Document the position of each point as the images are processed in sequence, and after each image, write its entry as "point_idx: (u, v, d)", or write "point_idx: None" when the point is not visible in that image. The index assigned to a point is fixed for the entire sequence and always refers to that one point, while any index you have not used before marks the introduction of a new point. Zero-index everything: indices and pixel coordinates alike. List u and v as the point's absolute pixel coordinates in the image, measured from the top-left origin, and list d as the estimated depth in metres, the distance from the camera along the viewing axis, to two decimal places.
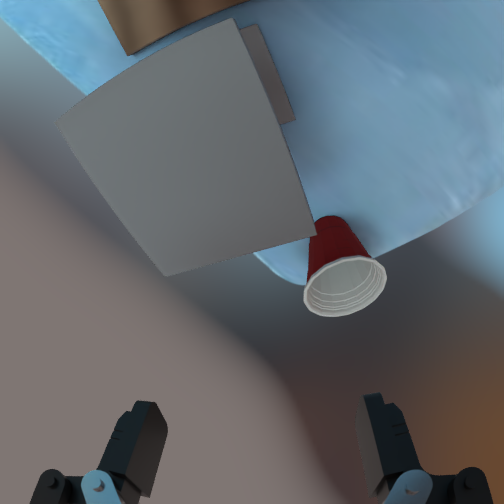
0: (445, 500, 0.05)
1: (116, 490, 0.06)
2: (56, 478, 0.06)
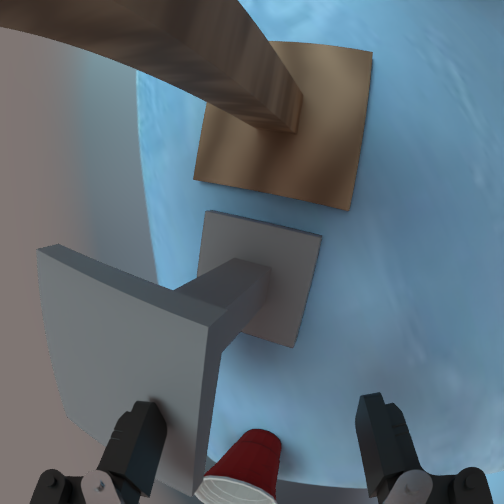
0: (445, 500, 0.05)
1: (116, 490, 0.06)
2: (56, 478, 0.06)
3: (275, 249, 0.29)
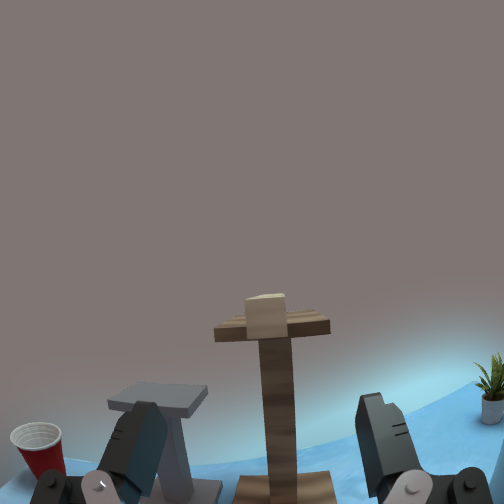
0: (445, 500, 0.05)
1: (116, 490, 0.06)
2: (56, 478, 0.06)
3: None
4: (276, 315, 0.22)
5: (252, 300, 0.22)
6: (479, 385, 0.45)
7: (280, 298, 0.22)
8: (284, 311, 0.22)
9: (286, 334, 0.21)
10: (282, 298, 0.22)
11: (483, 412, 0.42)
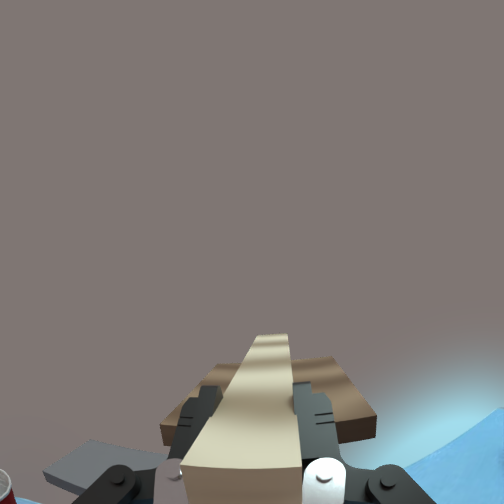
0: (362, 495, 0.06)
1: None
2: (124, 474, 0.07)
3: None
4: None
5: (203, 470, 0.06)
6: None
7: (287, 471, 0.06)
8: (297, 497, 0.05)
9: None
10: (294, 471, 0.06)
11: None
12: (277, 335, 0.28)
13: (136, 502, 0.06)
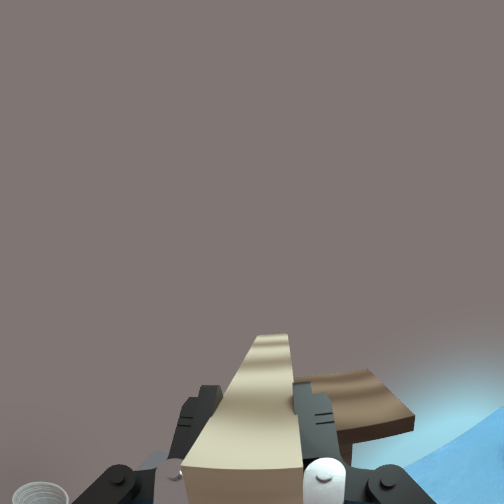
0: (362, 495, 0.06)
1: None
2: (124, 474, 0.07)
3: None
4: None
5: (203, 471, 0.06)
6: None
7: (288, 472, 0.06)
8: (298, 498, 0.05)
9: None
10: (295, 472, 0.06)
11: None
12: (277, 335, 0.28)
13: (136, 502, 0.06)
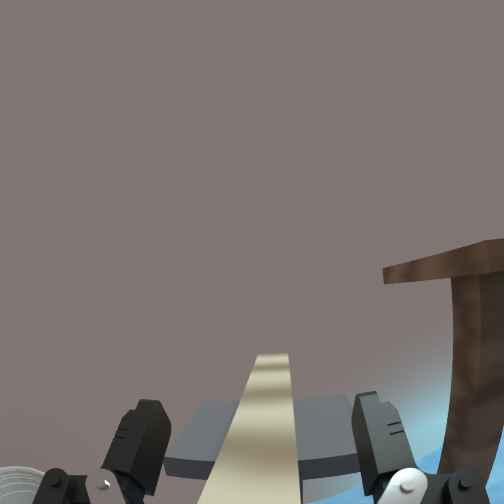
0: (440, 499, 0.05)
1: (121, 489, 0.06)
2: (60, 477, 0.06)
3: None
4: None
5: None
6: None
7: None
8: None
9: None
10: None
11: None
12: (278, 355, 0.28)
13: (77, 501, 0.06)
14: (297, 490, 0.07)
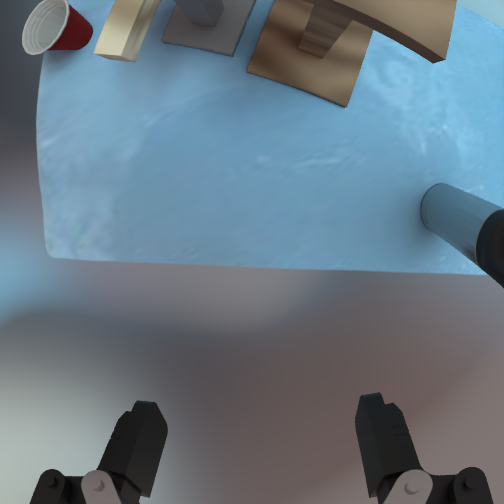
0: (445, 500, 0.05)
1: (116, 490, 0.06)
2: (56, 478, 0.06)
3: (227, 29, 0.36)
4: (121, 58, 0.20)
5: (99, 54, 0.18)
6: None
7: (118, 55, 0.19)
8: (125, 57, 0.19)
9: (133, 61, 0.21)
10: (119, 56, 0.19)
11: None
12: None
13: None
14: (126, 38, 0.18)
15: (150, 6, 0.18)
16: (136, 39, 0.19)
